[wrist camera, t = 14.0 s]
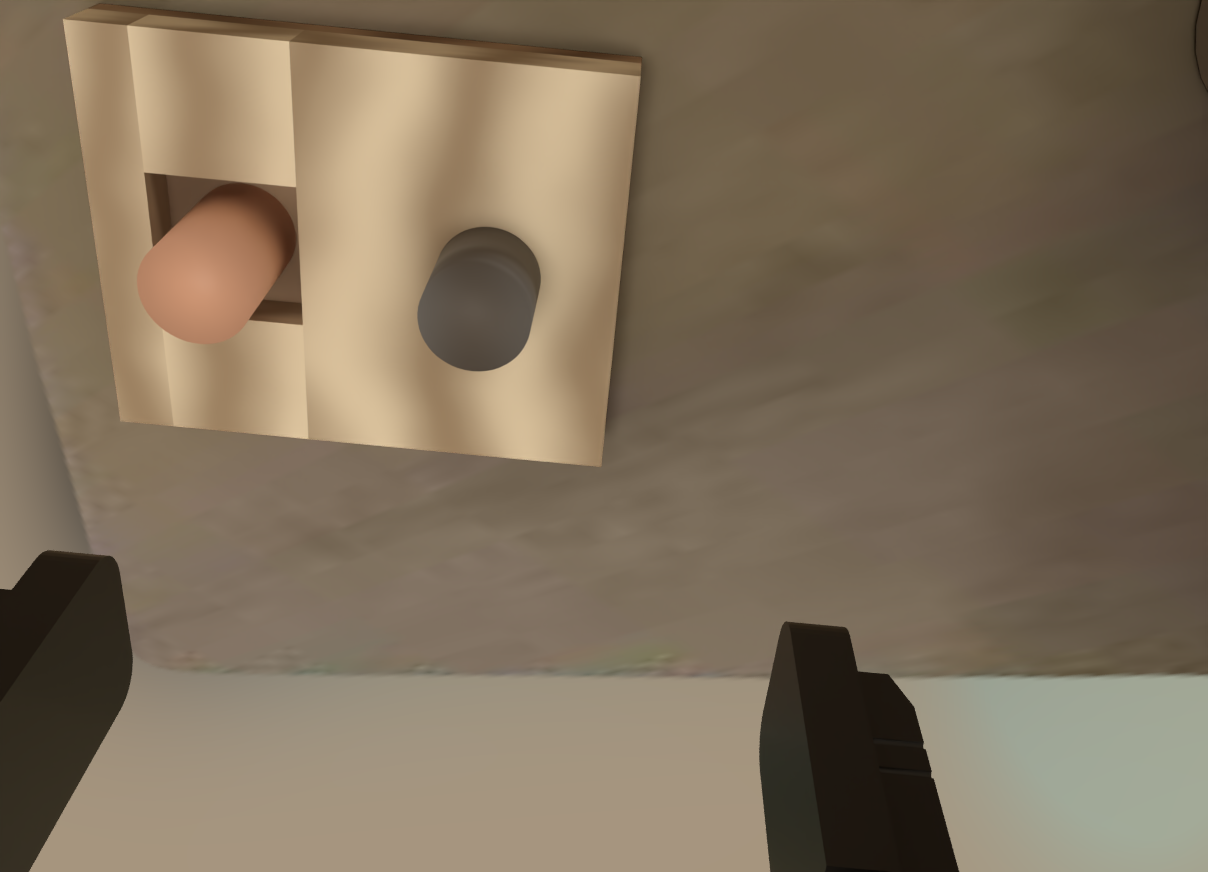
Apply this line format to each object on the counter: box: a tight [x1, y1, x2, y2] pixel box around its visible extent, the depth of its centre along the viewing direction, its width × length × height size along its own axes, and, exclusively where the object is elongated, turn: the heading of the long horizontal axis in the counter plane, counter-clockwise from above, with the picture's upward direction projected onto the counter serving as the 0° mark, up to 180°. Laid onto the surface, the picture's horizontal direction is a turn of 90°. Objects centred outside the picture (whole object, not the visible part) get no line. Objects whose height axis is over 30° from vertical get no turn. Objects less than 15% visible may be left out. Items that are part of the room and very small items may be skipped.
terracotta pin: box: [137, 183, 296, 344], centre depth 43 cm, size 4×4×6 cm
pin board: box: [63, 3, 642, 467], centre depth 44 cm, size 20×16×7 cm
